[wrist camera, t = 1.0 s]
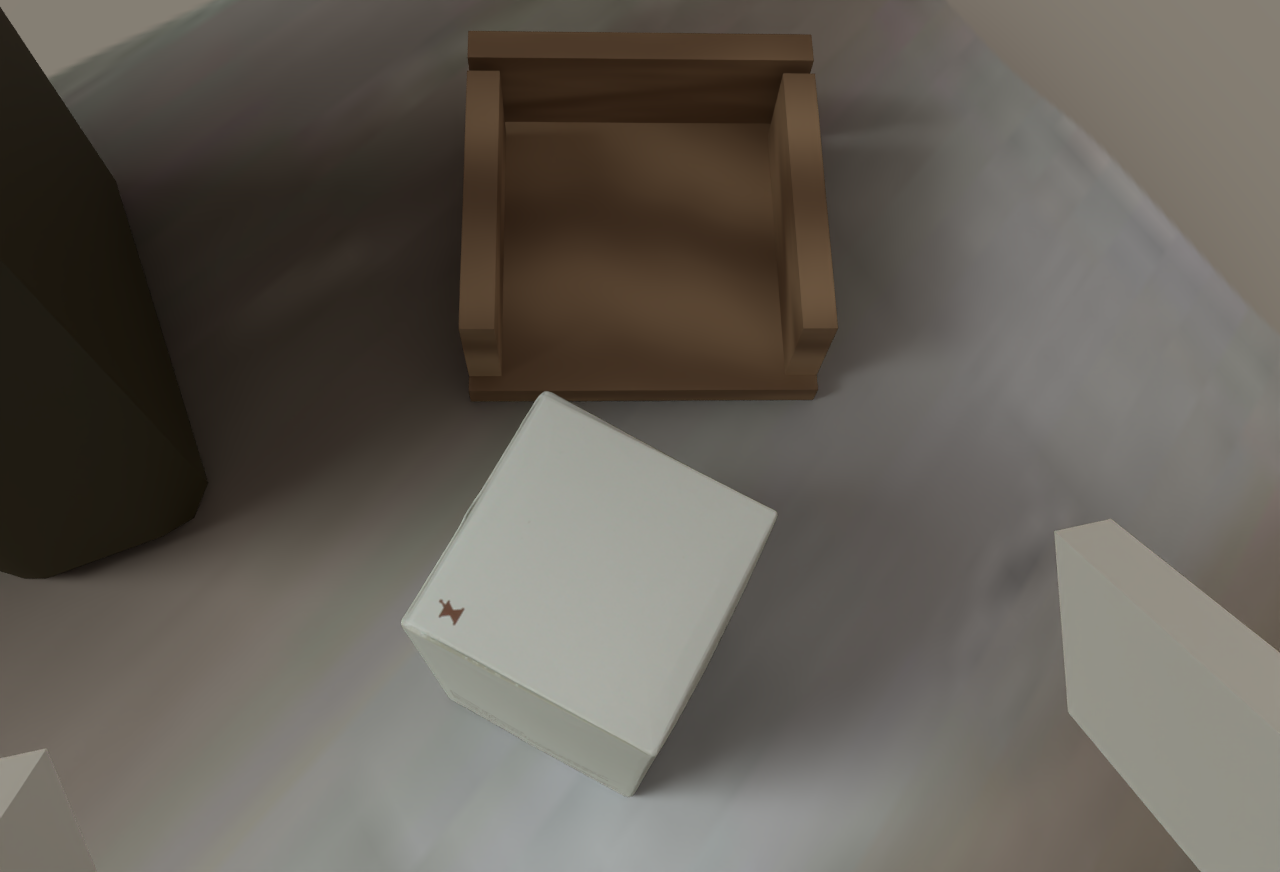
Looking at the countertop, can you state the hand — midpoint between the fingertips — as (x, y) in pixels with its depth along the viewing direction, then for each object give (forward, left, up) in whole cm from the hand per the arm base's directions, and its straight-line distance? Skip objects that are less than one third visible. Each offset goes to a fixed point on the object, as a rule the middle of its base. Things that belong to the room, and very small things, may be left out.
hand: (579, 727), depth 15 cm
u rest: (-15, +16, -26) cm, 34 cm away
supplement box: (-4, +4, -26) cm, 27 cm away
